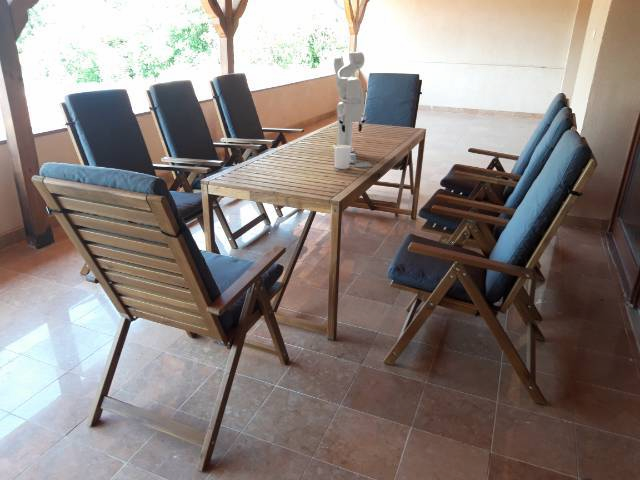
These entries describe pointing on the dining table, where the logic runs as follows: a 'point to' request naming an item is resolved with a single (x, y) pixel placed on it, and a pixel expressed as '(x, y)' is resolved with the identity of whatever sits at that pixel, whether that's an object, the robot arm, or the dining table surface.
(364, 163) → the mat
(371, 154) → the dining table surface
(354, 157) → the letter block
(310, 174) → the dining table surface
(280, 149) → the dining table surface
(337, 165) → the candle holder
